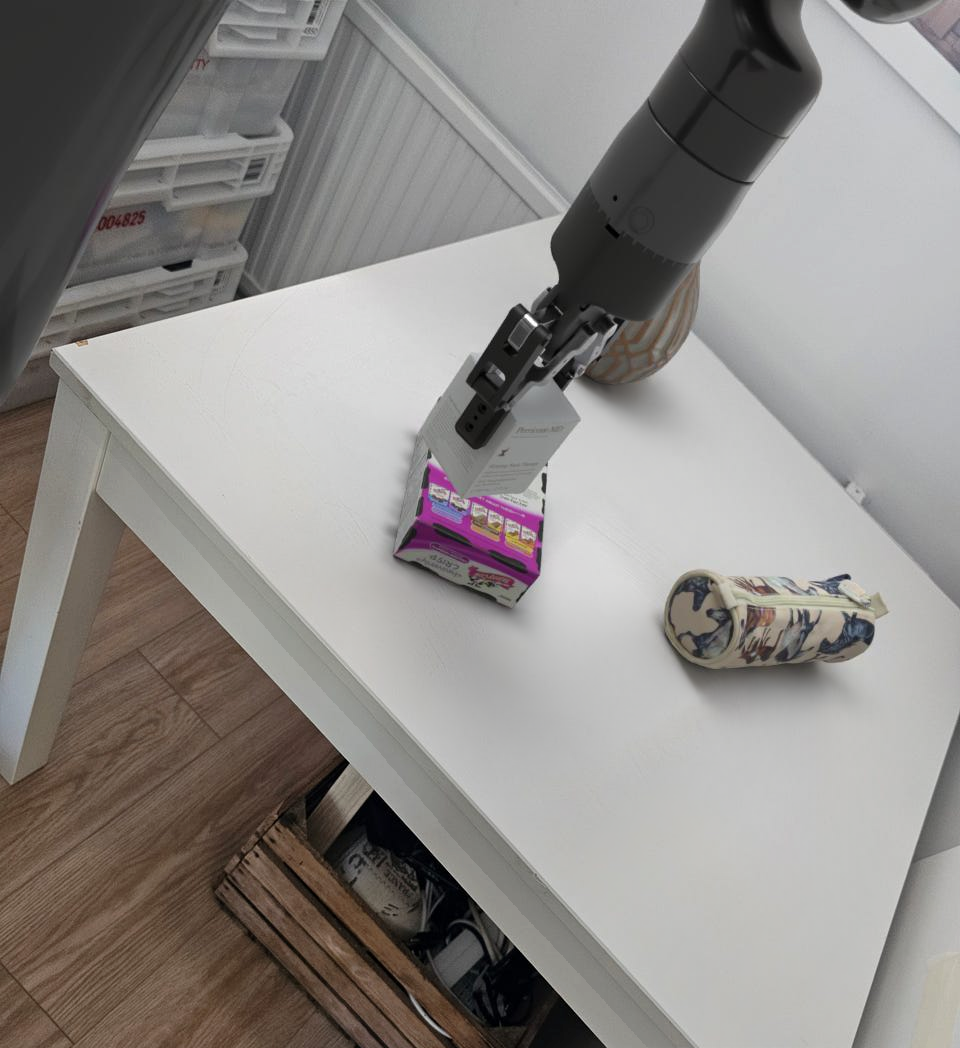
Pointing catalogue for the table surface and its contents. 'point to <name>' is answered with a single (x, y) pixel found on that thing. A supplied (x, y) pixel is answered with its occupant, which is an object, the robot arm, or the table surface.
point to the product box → (498, 437)
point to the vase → (650, 338)
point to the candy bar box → (472, 531)
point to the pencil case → (769, 619)
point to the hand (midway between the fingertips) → (499, 422)
